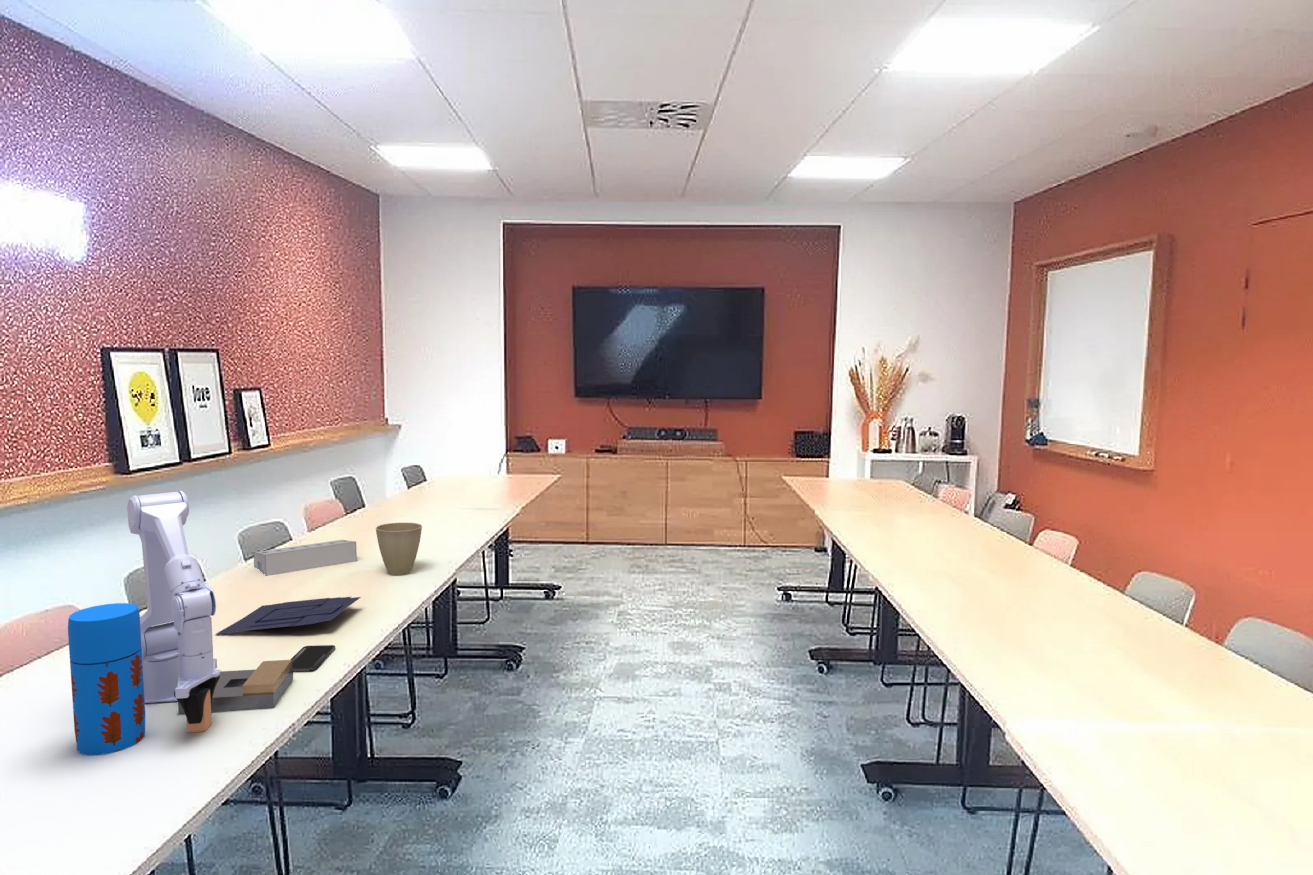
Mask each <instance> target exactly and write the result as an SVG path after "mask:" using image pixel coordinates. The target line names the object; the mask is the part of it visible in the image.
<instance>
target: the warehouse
mask: <svg viewBox="0 0 1313 875" xmlns="http://www.w3.org/2000/svg"><path fill="white" fill-rule="evenodd" d="M357 554H358V553H357V541H354V540H346V539H345V540H344V539H338V540H331V541H325V542H316V543H310V544H302V545H295V546H289V547H282V548H281V547H280V548H275V549H268V550H260V551H254V552H253V567H254V568H255V569H256V568H257V569H259V570H260V571H259V570H258V571H259V572H260V573H261V572H262V573H261V574H263V575H264V574H265V575H264V576H265V577H268V576H274V575H280V574H286V573H293V572H299V571H304V570H305V571H307V570H312V569H318V568H324V567H330V566H331V567H332V566H336V565H342V564H349V563H353V562H354V563H356V562H357V561H358V559H357V558H358V557H357ZM257 569H256V570H257Z"/></svg>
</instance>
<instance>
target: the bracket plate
mask: <svg viewBox="0 0 1313 875" xmlns="http://www.w3.org/2000/svg"><path fill="white" fill-rule="evenodd" d="M220 671H221V673H220V674H219V675H220V678H219V680H218V682H217V684H216V687H215V690H214V693H213V697H212V703H211V713H217V712H231V711H232V712H233V711H245V710H247V711H248V710H260V709H261V710H263V709H274V708H275V707H276V706H277V705H278V703H279V701H280V700H281V698H282V697H283V695H284V694H285V693H286V691H287V690H288V689H289V687H290V686H291V684H292V683H293V682H294V673H293V667H292V660H290V659H281V660H279V659H277V660H264V661H262V662H261V663H260V664H259V665H258V667H256V668H255V669H243V670H242V669H241V670H225V671H224V670H223V671H222V670H220ZM177 705H178V708H177V709H178V711H177V712H178V715H185V712H184V710H183V708H182V706H181V704H180V703H179V701H177Z"/></svg>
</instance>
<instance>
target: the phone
mask: <svg viewBox="0 0 1313 875" xmlns="http://www.w3.org/2000/svg"><path fill="white" fill-rule="evenodd" d="M335 651H336V645H333V644H331V645H330V644H328V645H327V644H325V645H323V644H322V645H321V644H320V645H317V644H316V645H305V646H303V647H302V648H300V650H299V651H297V653H296V654H294V655H293V657H291V658H290V659H289V660H292V667H293V674H294V673H313V672H316V671H317V670H318V669H319V668H320V667H321V666H322V665H323V664H324V663H325V661H326V660H327V659H328V658H329V657H330V656H331V655H332V654H333V653H334V652H335Z"/></svg>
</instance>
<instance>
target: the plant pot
mask: <svg viewBox="0 0 1313 875" xmlns="http://www.w3.org/2000/svg"><path fill="white" fill-rule="evenodd" d="M422 528H423V525H422V524H420V523H417V522H391V523H384V524H380V525H377V526H376V527H375V532H376V534H375V535H376V538H377V544H378V547H379V552H380V555H381V559H382V561H383V564H384V566H385V570H386V572H387V574H388V575H390V576H405V575H407V574H408V575H410V574H411V572H412V569H413V567H414V565H415V561H416V558H417V554H418V552H419V547H420V542H421V536H422Z"/></svg>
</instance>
